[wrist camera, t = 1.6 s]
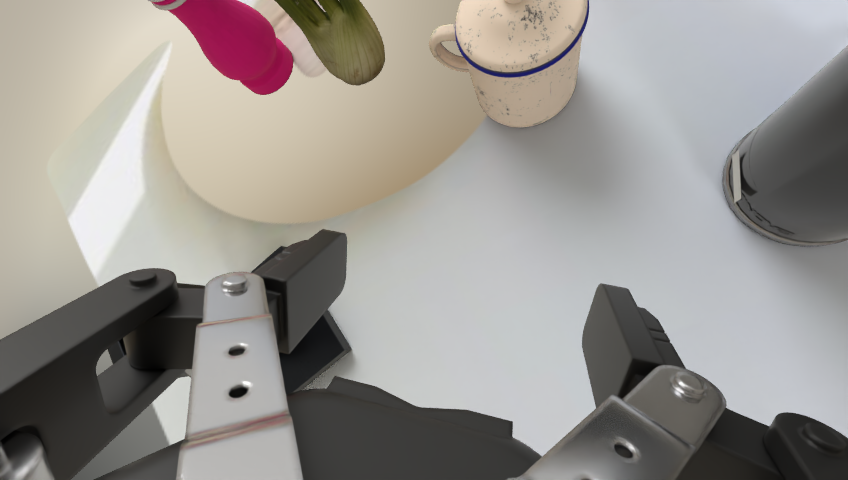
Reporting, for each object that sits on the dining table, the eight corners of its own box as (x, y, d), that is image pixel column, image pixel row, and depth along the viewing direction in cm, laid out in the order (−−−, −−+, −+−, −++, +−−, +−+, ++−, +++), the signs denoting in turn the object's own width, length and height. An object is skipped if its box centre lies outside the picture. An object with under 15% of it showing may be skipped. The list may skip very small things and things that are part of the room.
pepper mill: (299, 89, 43) (108, -89, 24) (243, 106, 45) (26, -46, 26) (296, 33, 45) (115, -175, 26) (242, 52, 47) (38, -129, 28)
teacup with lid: (587, 38, 35) (605, -91, 24) (569, 135, 34) (581, 46, 23) (455, 38, 39) (419, -73, 28) (435, 125, 37) (390, 45, 26)
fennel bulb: (396, 49, 40) (338, -56, 29) (384, 94, 40) (320, 4, 28) (346, 48, 42) (274, -51, 31) (334, 90, 42) (256, 5, 30)
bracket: (352, 349, 36) (234, 367, 22) (271, 414, 37) (112, 469, 23) (289, 248, 40) (158, 211, 26) (218, 309, 41) (57, 304, 27)
